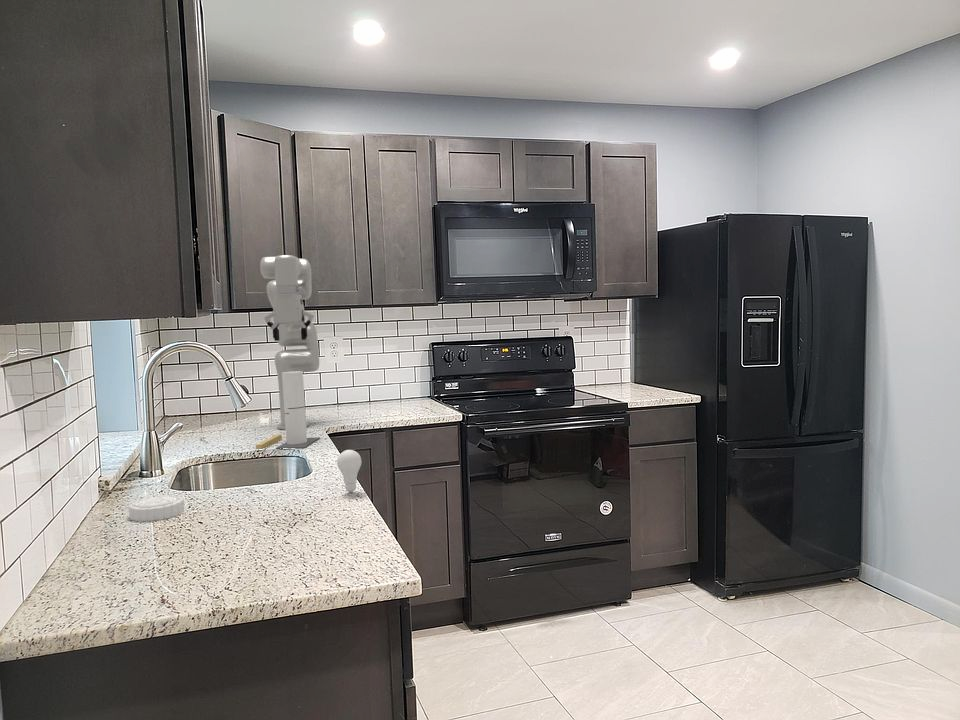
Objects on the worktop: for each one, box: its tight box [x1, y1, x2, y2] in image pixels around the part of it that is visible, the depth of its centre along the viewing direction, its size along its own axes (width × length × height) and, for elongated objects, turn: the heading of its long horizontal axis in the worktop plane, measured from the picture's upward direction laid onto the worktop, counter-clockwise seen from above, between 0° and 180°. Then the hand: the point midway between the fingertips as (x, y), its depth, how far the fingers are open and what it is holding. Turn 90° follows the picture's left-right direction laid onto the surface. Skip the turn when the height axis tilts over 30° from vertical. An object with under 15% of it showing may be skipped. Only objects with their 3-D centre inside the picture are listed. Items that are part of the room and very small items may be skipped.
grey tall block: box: [282, 371, 308, 444], centre depth 257 cm, size 7×7×25 cm
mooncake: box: [128, 494, 185, 522], centre depth 173 cm, size 12×12×4 cm
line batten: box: [255, 433, 283, 450], centre depth 258 cm, size 20×2×2 cm, turn 176°
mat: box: [275, 436, 321, 450], centre depth 257 cm, size 18×10×1 cm, turn 176°
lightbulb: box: [336, 449, 362, 494], centre depth 185 cm, size 6×6×11 cm
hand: (290, 340), depth 255 cm, fingers open, 9 cm apart
